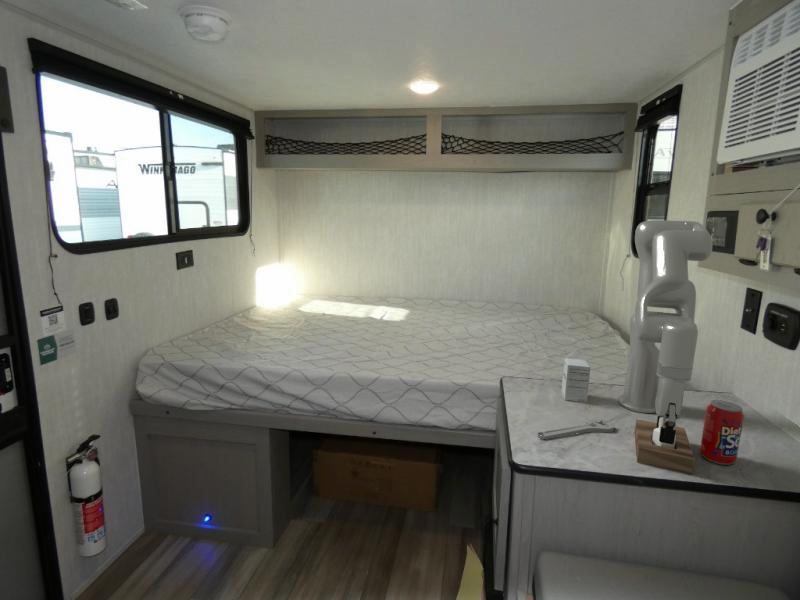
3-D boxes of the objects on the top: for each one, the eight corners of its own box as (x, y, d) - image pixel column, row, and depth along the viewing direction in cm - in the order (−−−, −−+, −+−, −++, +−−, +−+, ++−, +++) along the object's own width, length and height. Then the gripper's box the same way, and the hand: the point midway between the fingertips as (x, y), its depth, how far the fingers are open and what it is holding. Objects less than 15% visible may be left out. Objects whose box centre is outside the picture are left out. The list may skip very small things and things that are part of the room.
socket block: (634, 432, 132) (636, 419, 131) (682, 441, 127) (684, 428, 127) (637, 462, 116) (638, 447, 115) (692, 474, 111) (694, 459, 111)
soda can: (699, 448, 124) (708, 396, 121) (735, 457, 120) (744, 403, 117) (698, 460, 118) (707, 406, 115) (736, 470, 113) (746, 414, 110)
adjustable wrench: (540, 442, 126) (540, 436, 126) (528, 431, 132) (528, 425, 132) (617, 432, 132) (618, 427, 132) (602, 422, 139) (603, 417, 138)
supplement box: (560, 392, 160) (564, 357, 158) (583, 394, 159) (586, 359, 156) (563, 400, 153) (567, 364, 151) (587, 402, 152) (591, 366, 149)
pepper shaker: (649, 449, 121) (654, 416, 120) (664, 449, 122) (668, 416, 120) (659, 457, 118) (664, 423, 116) (674, 457, 118) (679, 423, 116)
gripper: (654, 358, 124) (646, 419, 128) (660, 379, 109) (650, 447, 112) (686, 363, 121) (677, 424, 125) (697, 385, 106) (686, 455, 109)
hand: (664, 435), depth 118 cm, fingers open, 7 cm apart
